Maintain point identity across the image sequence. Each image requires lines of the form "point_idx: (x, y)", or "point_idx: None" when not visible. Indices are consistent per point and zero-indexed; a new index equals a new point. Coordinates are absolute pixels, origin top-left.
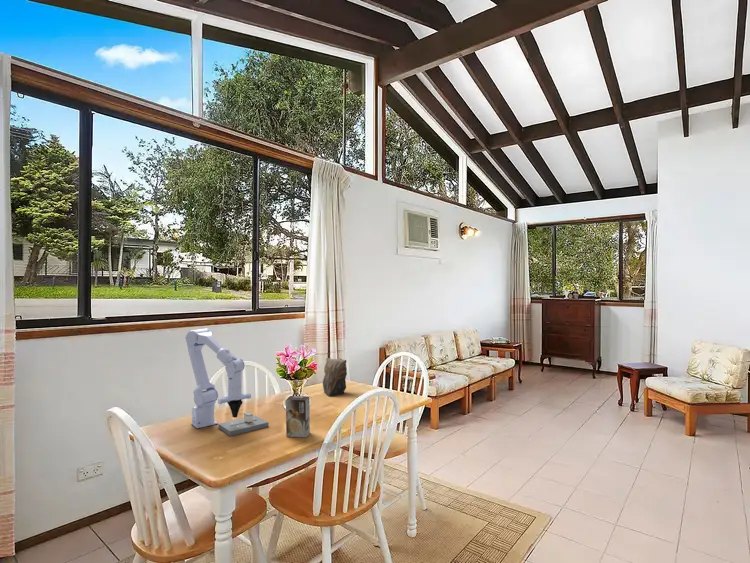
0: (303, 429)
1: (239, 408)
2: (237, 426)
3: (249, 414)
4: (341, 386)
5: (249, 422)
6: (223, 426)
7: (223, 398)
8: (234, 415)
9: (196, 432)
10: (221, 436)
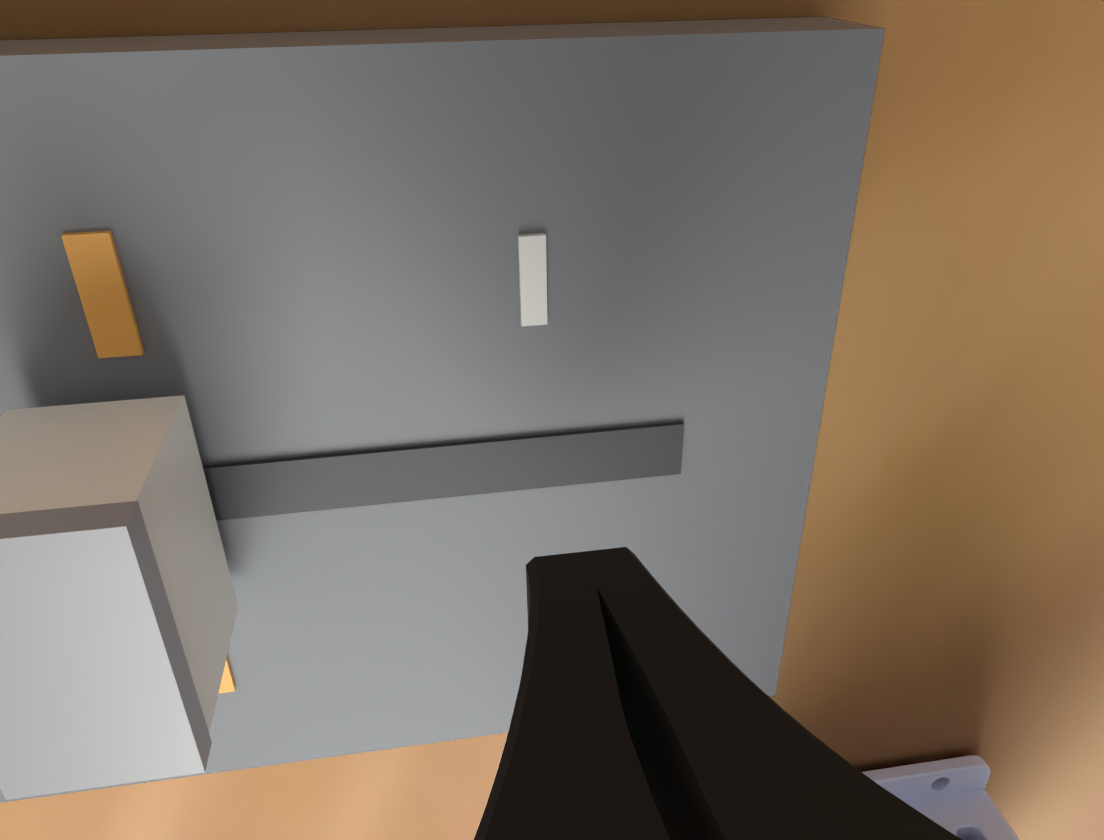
0: None
1: (498, 795)
2: (543, 298)
3: (36, 582)
4: None
5: None
6: (790, 503)
7: None
8: (656, 585)
9: (1087, 615)
10: (960, 147)
